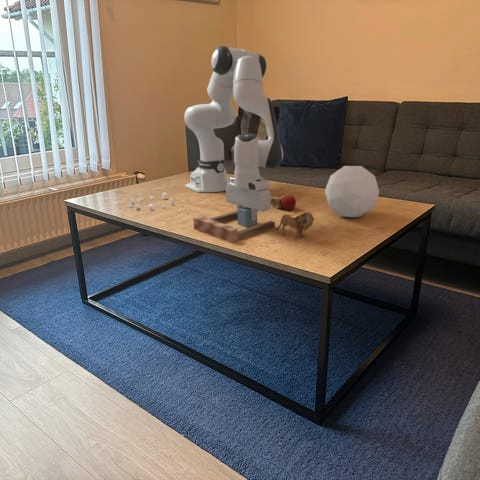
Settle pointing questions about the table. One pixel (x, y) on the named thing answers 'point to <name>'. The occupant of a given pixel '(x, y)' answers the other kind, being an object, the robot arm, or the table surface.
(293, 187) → the table surface
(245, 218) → the block
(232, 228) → the stop channel
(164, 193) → the game piece set
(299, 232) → the lion figurine
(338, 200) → the geometric polyhedron
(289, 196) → the kendama
